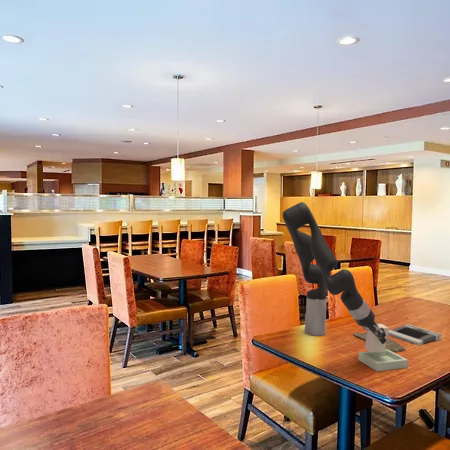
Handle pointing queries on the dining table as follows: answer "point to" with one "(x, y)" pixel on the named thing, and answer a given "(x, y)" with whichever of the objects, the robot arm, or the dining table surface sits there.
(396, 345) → the stone tool
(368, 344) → the gray block
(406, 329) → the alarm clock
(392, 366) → the pale green tray
